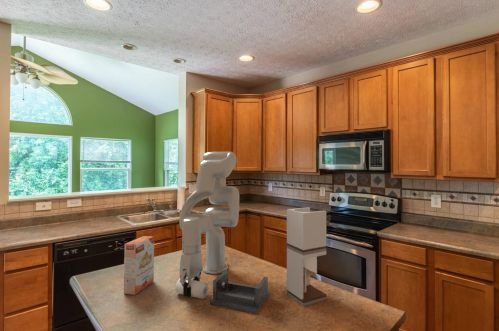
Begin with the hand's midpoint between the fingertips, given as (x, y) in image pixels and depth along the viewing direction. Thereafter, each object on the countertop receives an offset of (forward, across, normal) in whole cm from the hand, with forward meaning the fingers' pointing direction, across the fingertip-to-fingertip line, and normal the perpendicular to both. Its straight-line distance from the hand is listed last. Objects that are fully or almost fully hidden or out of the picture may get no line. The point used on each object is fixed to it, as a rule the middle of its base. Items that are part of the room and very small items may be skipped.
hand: (191, 292), depth 112 cm
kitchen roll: (-2, 0, 0) cm, 2 cm away
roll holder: (+1, -4, +20) cm, 20 cm away
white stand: (+1, -15, +44) cm, 47 cm away
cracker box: (+2, +2, -25) cm, 25 cm away
